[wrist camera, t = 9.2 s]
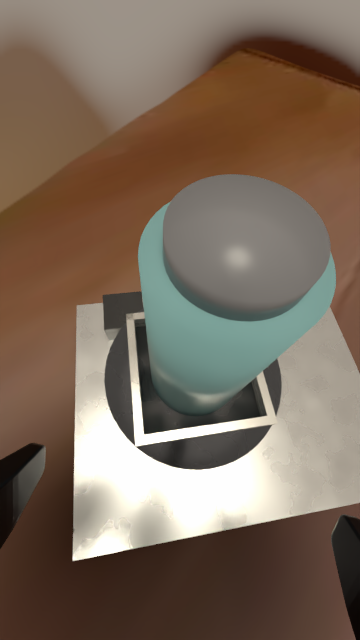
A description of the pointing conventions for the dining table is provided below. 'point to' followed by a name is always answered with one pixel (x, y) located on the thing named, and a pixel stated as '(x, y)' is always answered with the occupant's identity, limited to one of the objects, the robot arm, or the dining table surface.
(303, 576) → the dining table surface
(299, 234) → the bottle
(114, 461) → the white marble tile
